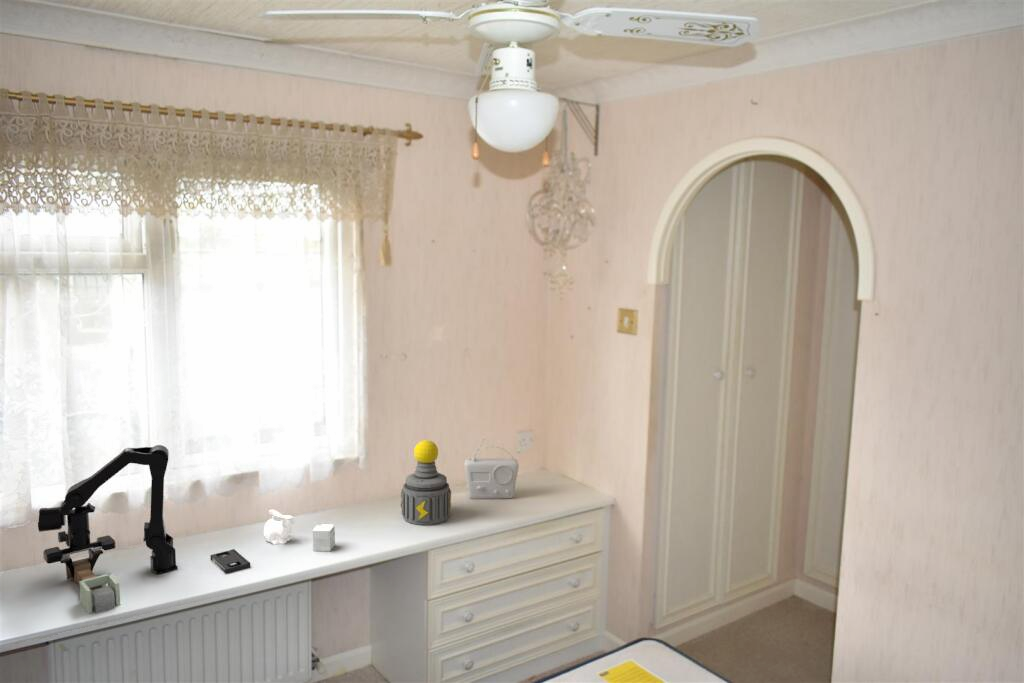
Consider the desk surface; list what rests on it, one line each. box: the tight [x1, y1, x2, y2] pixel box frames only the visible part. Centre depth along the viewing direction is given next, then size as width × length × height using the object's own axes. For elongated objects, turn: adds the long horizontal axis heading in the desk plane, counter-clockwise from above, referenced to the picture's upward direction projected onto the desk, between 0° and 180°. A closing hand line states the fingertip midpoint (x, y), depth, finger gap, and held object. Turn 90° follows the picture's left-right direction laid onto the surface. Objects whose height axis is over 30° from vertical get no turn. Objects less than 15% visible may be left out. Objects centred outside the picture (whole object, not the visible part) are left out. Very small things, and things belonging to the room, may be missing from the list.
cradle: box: [78, 573, 121, 614], centre depth 228 cm, size 8×11×7 cm
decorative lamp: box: [400, 439, 452, 526], centre depth 298 cm, size 19×19×30 cm
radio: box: [464, 438, 520, 500], centre depth 323 cm, size 22×8×25 cm, turn 95°
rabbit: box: [263, 509, 296, 545], centre depth 274 cm, size 12×9×12 cm
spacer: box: [91, 585, 116, 614], centre depth 225 cm, size 5×5×5 cm
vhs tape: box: [210, 548, 251, 575], centre depth 256 cm, size 14×8×2 cm, turn 40°
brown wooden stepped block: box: [65, 557, 101, 590], centre depth 238 cm, size 18×7×5 cm, turn 42°
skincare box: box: [312, 523, 336, 552], centre depth 269 cm, size 6×6×7 cm
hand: (81, 575), depth 242 cm, fingers closed on brown wooden stepped block, 4 cm apart
